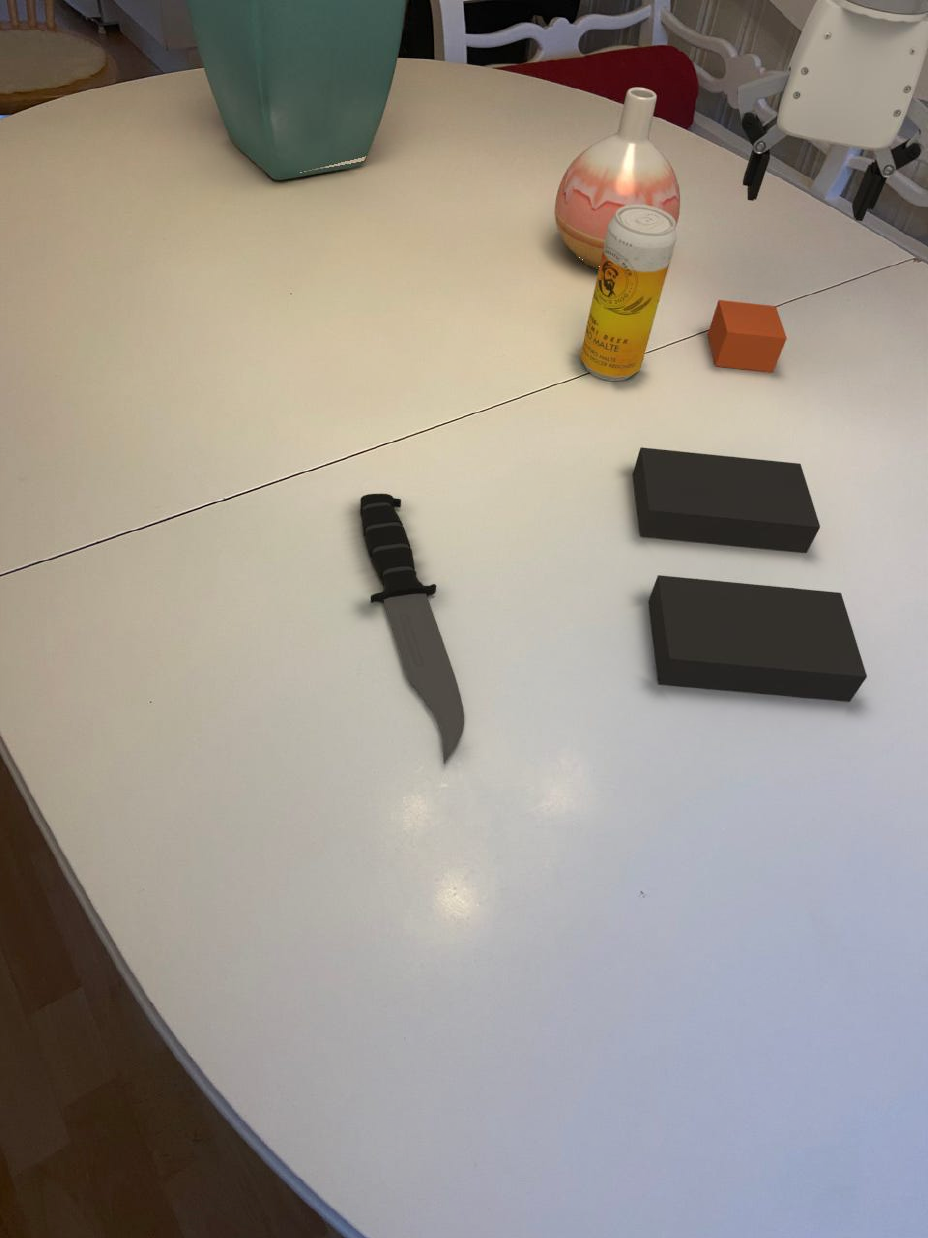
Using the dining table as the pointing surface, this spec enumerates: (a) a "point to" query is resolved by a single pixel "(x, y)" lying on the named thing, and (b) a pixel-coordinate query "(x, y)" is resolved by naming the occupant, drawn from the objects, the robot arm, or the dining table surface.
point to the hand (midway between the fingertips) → (803, 204)
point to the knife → (412, 615)
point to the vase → (615, 180)
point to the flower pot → (299, 76)
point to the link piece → (746, 336)
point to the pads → (736, 612)
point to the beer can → (627, 290)
